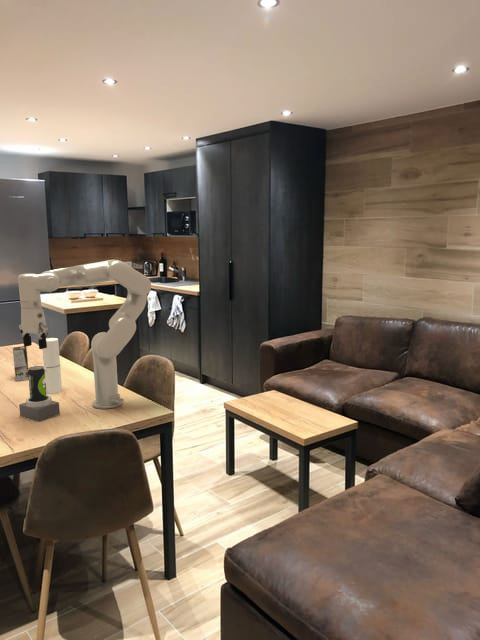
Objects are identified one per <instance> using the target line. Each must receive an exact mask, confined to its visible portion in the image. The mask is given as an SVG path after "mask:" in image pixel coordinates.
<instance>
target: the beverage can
mask: <svg viewBox="0 0 480 640" xmlns="http://www.w3.org/2000/svg"><path fill="white" fill-rule="evenodd" d="M28 377H29V380H28V387H29V388H28V389H29V398H30V401H31V402H39V401H44V400H47V393H46V381H45V369H44V365H43V366H42V365H35V366H30V367H28Z"/></svg>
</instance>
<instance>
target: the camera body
mask: <svg viewBox="0 0 480 640" xmlns="http://www.w3.org/2000/svg"><path fill="white" fill-rule="evenodd" d="M46 395H47V394H46ZM18 407H19V408H18V409H19V416H20V417H21V416H22V417H21V418H24V417H25V419H28V418H29V419H28V420H32V421H35V422H38V423H39V422H42V421H45V420H47V419H49V418H52V417H56V416H58V415H61V411H60V410H61V409H60V402H58V401H54V400H52V396H51V395H47V400H44V401H39V402H31V401H30V397H28V398H26V399H25V402H23V403H20V404H18Z"/></svg>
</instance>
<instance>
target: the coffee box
mask: <svg viewBox="0 0 480 640" xmlns="http://www.w3.org/2000/svg"><path fill="white" fill-rule="evenodd" d="M12 356H13V357H12V358H13V367H14V368H13V369H14V377H15V378H14V379H15V382H21V381H29V377H28V370H29V359H28V358H29V357H28V351H27V347H24V345H23V346H21V345H20V346H14V347H13V348H12Z"/></svg>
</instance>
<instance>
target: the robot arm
mask: <svg viewBox="0 0 480 640" xmlns="http://www.w3.org/2000/svg"><path fill="white" fill-rule="evenodd" d="M110 281H114V282H116V283H118V284H119V285H120V286H123V288H126V290H127V295H126V296H127V297H126V299H125V301H124V302H123V303H122V304H121V306H120V307H119V308H118V309H117V310H116V311H115V313H114V314H113V315H112V316H111V318H110V319H109V321H108V327H109V329H108V330H107V332H106V331H102V332H97V334H94V336H93V337H92V339H91V344H90V347H91V354H92V361H93V376H94V378H93V379H94V391H95V395H94V396H95V400H93V401H92V404H91V405H92V407H93V408H95V409H99V410H100V409H101V410H107V409H112V408H117V407H119V406H121V405H122V404H123V402H124V398H121V395H120V394H121V393H120V394H119V384H118V371H117V370H118V367H117V366H118V365H117V356H118V355H119V354H121V352H122V350H123V349H124V348H125V347H126V346H127V344H128V343H129V342H130V341H131V339H132V338H133V336H134V334H135V333H136V330H137V324H136V321H137V319H138V317H139V316H140V315H141V314H142V312H143V311H144V309H145V307H146V305H147V298H148V296H147V294H149V293H150V292H151V290H152V289H151V288H152V281H151V279H150V278H149V277H148V276H146V275H144V274H143V273H142V272H139V271H138V270H136V269H134V268H133V267H132V266H131V265H128V264H127V263H125V262H124V261H122V260H119V259H108V260H102V261H97V262H91V263H84V264H79V265H74V266H69V267H62V268H57V269H50V270H45V271H43V272H41V273H39V274H36V273H31V272H30V273H21V274H19V275H18V277H17V282H18V290H19V300H20V302H19V303H20V322H21V323H20V324H19V325H18V328H19V330H20V333H21V337H22V341H23V346H24V347H26V348H27V347H30V346H32V344H33V343H32V337H31V335H36V336H37V338H38V349H39V350H42V349H44V348H47V342H46V339H47V338H48V335H49V334H48V333H49V327H48V326H47V321H46V317H45V316H46V315H45V312H44V309H43V308H42V307H43V306H42V301H41V300H42V299H41V298H42V297H41V292H54V291H57V290H58V289H59V288H61V287H66V286H67V287H68V286H90V285H95V284H99V283H100V284H101V283H105V282H110Z"/></svg>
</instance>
